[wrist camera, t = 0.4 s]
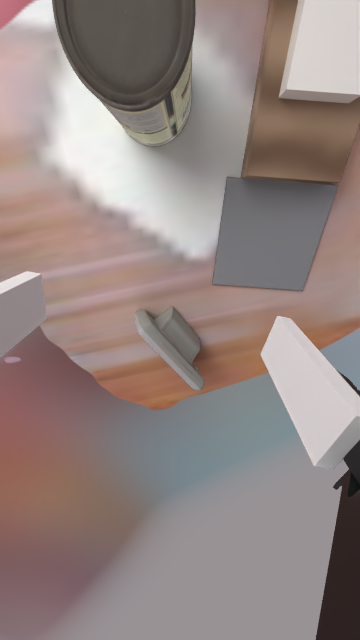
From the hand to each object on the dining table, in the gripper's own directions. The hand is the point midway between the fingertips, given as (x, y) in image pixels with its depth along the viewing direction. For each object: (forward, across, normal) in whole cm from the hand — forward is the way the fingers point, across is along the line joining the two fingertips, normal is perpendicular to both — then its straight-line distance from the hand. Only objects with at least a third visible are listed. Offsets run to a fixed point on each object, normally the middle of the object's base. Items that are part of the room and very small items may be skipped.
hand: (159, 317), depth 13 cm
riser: (+27, +12, +20) cm, 36 cm away
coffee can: (+27, -6, +17) cm, 33 cm away
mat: (+27, +14, +3) cm, 31 cm away
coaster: (+23, +12, +22) cm, 34 cm away
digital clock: (+27, +2, -18) cm, 32 cm away
